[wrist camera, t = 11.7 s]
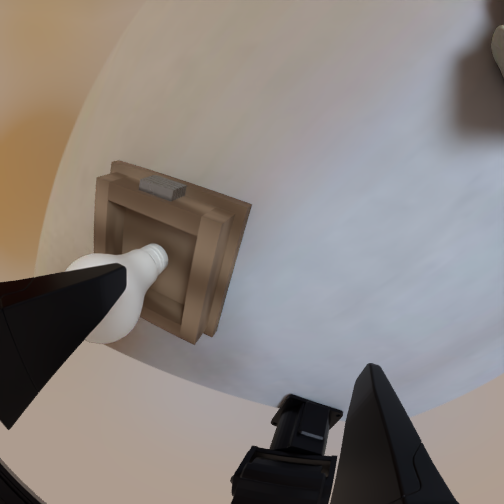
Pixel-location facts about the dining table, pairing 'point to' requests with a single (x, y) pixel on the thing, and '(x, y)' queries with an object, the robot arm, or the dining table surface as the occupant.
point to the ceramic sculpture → (498, 47)
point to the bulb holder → (173, 242)
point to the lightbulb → (138, 282)
